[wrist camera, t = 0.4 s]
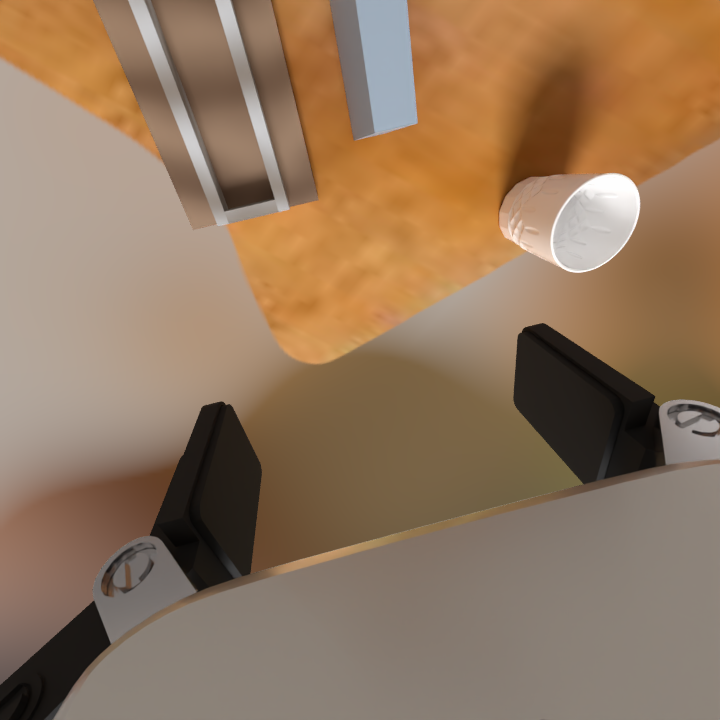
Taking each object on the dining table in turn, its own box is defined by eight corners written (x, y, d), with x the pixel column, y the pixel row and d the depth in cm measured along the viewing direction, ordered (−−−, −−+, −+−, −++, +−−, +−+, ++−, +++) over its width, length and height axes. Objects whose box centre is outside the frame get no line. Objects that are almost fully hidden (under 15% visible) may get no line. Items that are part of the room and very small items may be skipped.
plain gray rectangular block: (321, -49, 25) (333, -156, 17) (360, -57, 25) (392, -167, 17) (353, 140, 32) (374, 133, 23) (385, 133, 32) (417, 123, 23)
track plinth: (63, -86, 23) (27, -124, 20) (241, -122, 23) (232, -165, 20) (197, 226, 33) (187, 233, 30) (317, 198, 33) (319, 202, 30)
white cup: (493, 179, 35) (555, 186, 27) (565, 162, 35) (650, 162, 27) (492, 255, 39) (547, 281, 31) (557, 239, 39) (629, 260, 31)
